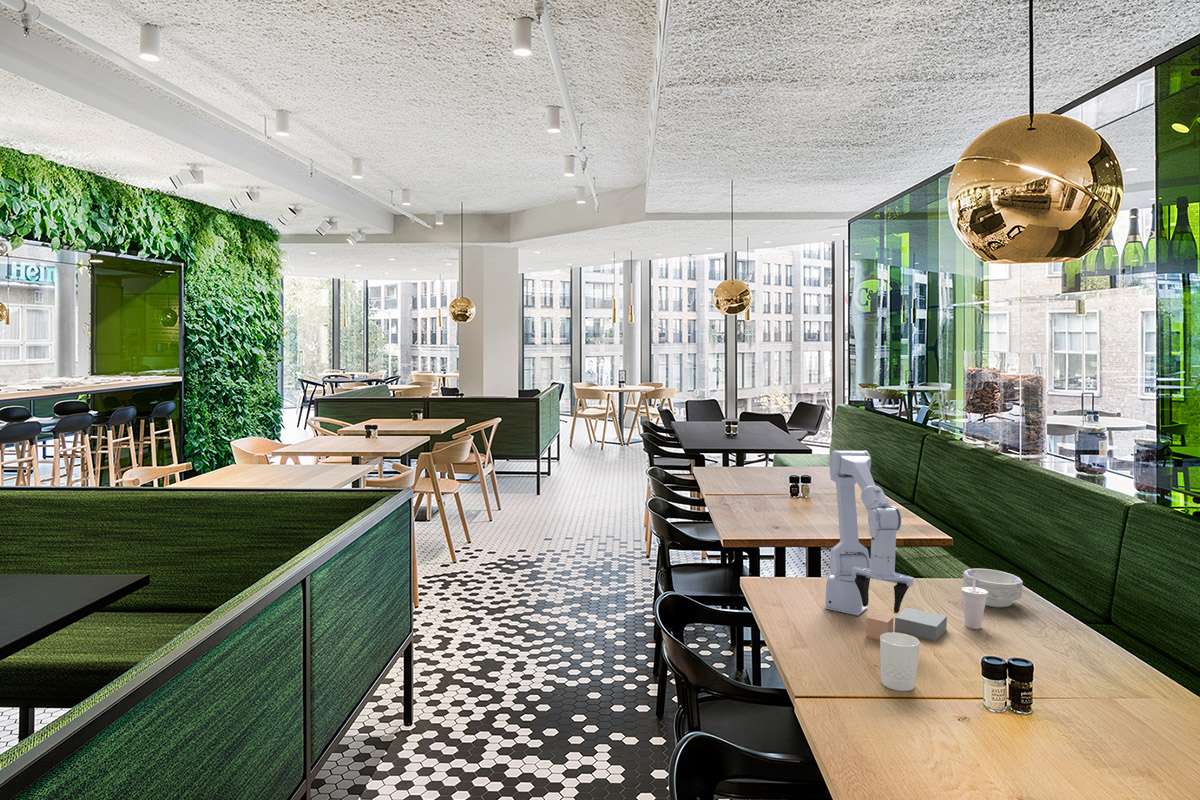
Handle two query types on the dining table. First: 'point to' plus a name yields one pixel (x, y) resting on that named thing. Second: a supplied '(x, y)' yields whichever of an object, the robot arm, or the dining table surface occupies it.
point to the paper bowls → (995, 586)
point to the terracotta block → (879, 625)
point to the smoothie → (974, 605)
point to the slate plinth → (920, 624)
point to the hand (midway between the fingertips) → (880, 608)
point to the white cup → (898, 660)
